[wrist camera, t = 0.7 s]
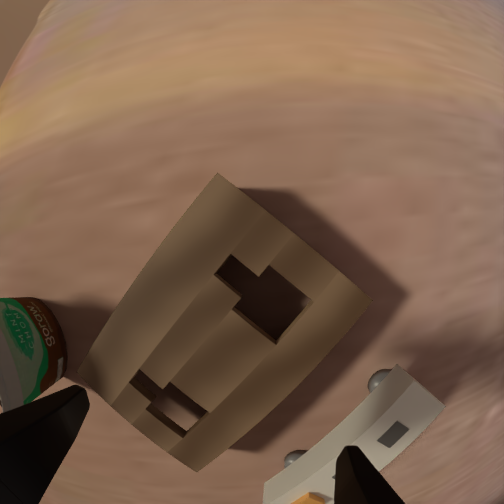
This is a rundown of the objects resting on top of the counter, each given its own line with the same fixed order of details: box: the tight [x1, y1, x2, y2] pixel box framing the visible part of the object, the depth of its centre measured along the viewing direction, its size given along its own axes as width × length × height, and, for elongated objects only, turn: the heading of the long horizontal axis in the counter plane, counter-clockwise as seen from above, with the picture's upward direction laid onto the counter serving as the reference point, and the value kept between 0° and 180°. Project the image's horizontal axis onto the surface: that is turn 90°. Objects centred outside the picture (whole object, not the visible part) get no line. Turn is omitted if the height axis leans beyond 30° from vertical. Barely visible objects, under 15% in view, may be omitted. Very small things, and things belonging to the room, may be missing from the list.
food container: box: [0, 297, 67, 412], centre depth 17 cm, size 12×6×10 cm, turn 50°
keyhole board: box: [77, 173, 373, 472], centre depth 19 cm, size 12×18×4 cm, turn 141°
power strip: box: [263, 364, 446, 504], centre depth 17 cm, size 4×14×7 cm, turn 141°
